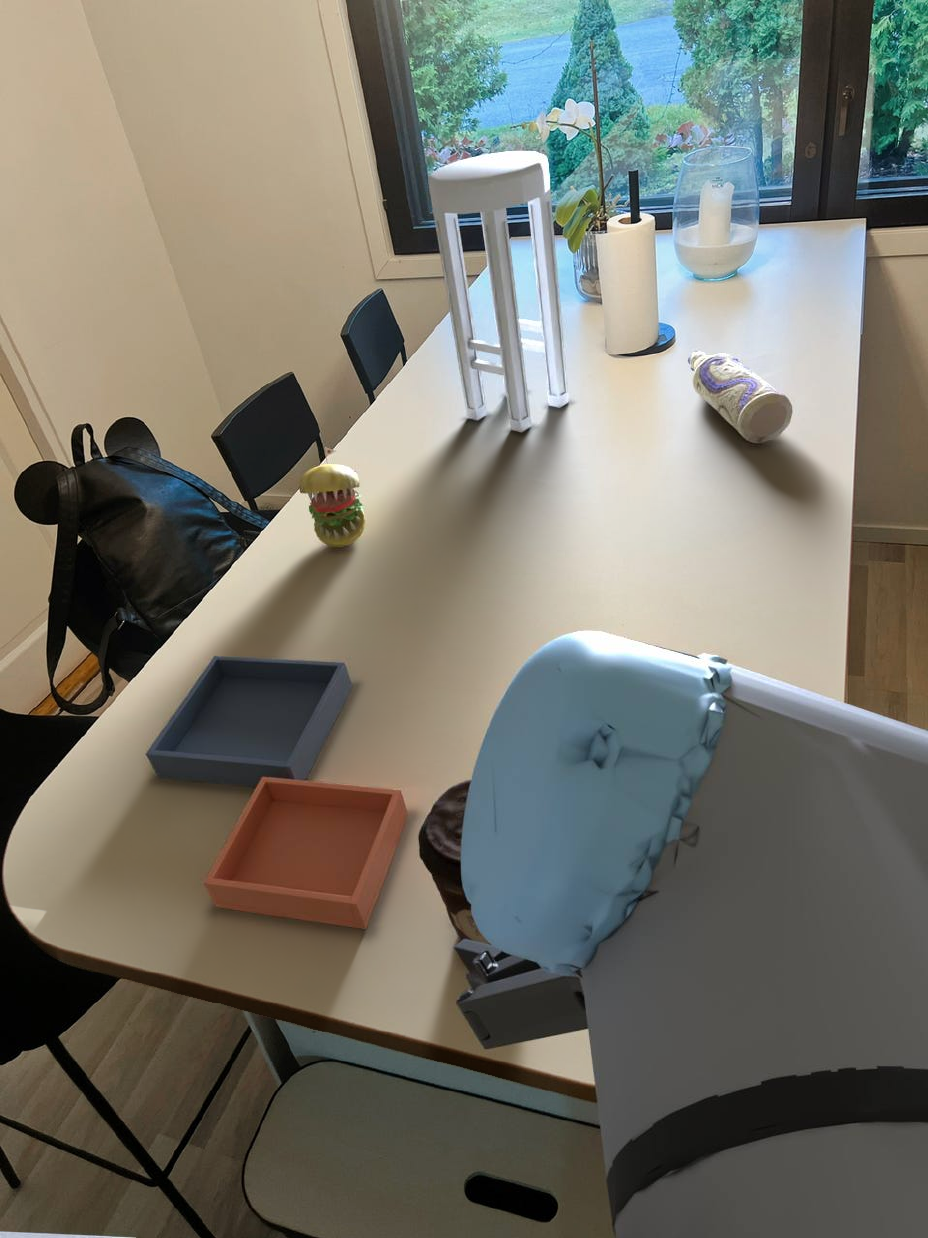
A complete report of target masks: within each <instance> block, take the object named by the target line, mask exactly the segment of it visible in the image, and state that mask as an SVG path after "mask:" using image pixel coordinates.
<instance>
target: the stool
mask: <svg viewBox="0 0 928 1238" xmlns="http://www.w3.org/2000/svg"><path fill="white" fill-rule="evenodd" d="M547 157H548V156H546V155H545V154H542V153H539V152H537V151H535V150H515V151H514V150H511V151H510V150H509V151H503V152H494V153H486V154H481V155H477V156H473V157H468V158H463V159H460V160H457V161H454V162H451V163H448V164H445V165H443V166H440V167H438V168H437V169H435V170H434V171H433V172H431V174H430V175H429V176H428V178H427V183H428V189H429V196H430V201H431V207H432V213H433V220H434V225H435V231H436V237H437V238H436V239H437V243H438V249H439V256H440V261H441V262H440V263H441V267H442V273H443V280H444V285H445V286H444V287H445V292H446V298H447V304H448V309H449V315H450V321H451V322H450V323H451V327H452V333H453V338H454V345H455V352H456V358H457V364H458V369H459V376H460V381H461V382H460V383H461V387H462V388H461V389H462V393H463V399H464V406H465V412H466V418H467V419H470V420H474V421H479V420H481V419H483V418H485V417H486V416H488V409H487V402H486V397H485V391H484V390H485V389H484V384H483V377H482V372H486V373H490V374H495V375H499V376H502V381H503V387H504V395H505V396H506V405H507V412H508V418H509V425H510V430H511V431H515V432H519V433H523V432H525V431H526V430H528V429H530V428H531V427H532V426H533V425H532V415H531V407H530V401H529V391H528V383H527V374H526V367H525V365H526V364H525V360H524V359H525V358H524V357H525V356H524V350H525V351H530V352H536V353H540V354H542V355H543V363H544V373H545V382H546V391H547V402H548V406H550V407H554V408H558V409H560V408H563V406H565V405H566V404H568V403H569V402H570V396H569V386H568V375H567V364H566V354H565V353H566V352H565V341H564V328H563V318H562V307H561V296H560V286H559V283H560V282H559V274H558V263H557V252H556V251H557V249H556V238H555V227H554V218H553V217H554V216H553V205H552V194H551V183H550V172H549V170H550V169H549V161H548V160H549V159H548V158H547ZM524 204H527V208H528V218H529V228H530V238H531V245H532V246H531V247H532V257H533V265H534V266H533V267H534V275H535V277H534V278H535V285H536V294H537V303H538V314H539V321H533V320H529V319H521V318H520V316H519V315H520V314H519V308H518V307H519V306H518V299H517V290H516V283H515V282H516V281H515V274H514V273H515V272H514V267H513V258H512V248H511V240H510V232H509V224H508V217H507V216H508V215H507V208H511V207H516V206H519V205H524ZM477 213H480V217H481V218H480V219H481V226H482V233H483V241H484V242H483V243H484V247H485V255H486V256H485V257H486V261H487V262H486V263H487V270H488V278H489V285H490V293H491V300H492V308H493V314H494V315H493V316H494V321H495V322H494V323H495V331H496V337H497V343H496V342H492V341H491V342H490V341H485V340H480V339H477V338H476V331H475V323H474V318H473V310H472V303H471V297H470V290H469V283H468V277H467V271H466V264H465V257H464V251H463V245H462V237H461V231H460V223H459V218H458V215H468V214H477ZM521 331H528V332H532V333H538V334H540V335H541V341H536V340H532V339H531V340H530V339H524V338H522V333H521ZM479 352H483V353H488V354H492V355H497V356H499V359H500V363H497V362H491V361H487V360H483V359H480V357H479V356H480V355H479Z"/></svg>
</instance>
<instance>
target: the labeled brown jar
mask: <svg viewBox="0 0 928 1238" xmlns="http://www.w3.org/2000/svg"><path fill="white" fill-rule="evenodd" d="M471 779H472V778H471ZM471 779H466V780H463V781H461V782H459V783H457V784H455V785H452V786H450V787H449V788H447V790H445V792H443V793H442V794H441V795H440V796H439V797H438V799H437V800H436V801H435V802H434V803H433V804H432V806H431V809H430V811H429V812H428V814H427V815H426V816H425V818H424V821H423V822H422V824H421V825H420V829H419V832H418V836H417V841H418V856H419V858H420V860H421V861H422V863H423V865H424V867H425V868H426V870H427V872H429V874H430V875H431V877H432V881H433V883H434V884H435V886H436V889H437V891H438V893H439V896H440V897H441V900H442V902H443V904H444V906H445V909H446V914H447V915H448V918H449V921H450V923H451V925H452V926H453V928H454V931H455V932H456V934H457V936H458V937H459V940H460V942H461V941H462V940H463V939H468V940H472V941H476V942H481V943H485V944H489V945H491V944H490V943H489V942H488V941H487V940H486V939H485V938H484V937H483V935H482V934H481V933H480V932H479V930H478V928H477V926H476V924H475V922H474V919H473V917H472V913H471V904H470V903H469V902H468V900H467V898H466V895H465V892H464V889H463V885H462V877H461V840H462V830H463V821H464V814H465V807H466V802H467V797H468V792H469V787H470V783H471ZM509 955H510V956H512V955H511V954H509Z"/></svg>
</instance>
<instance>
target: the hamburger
mask: <svg viewBox="0 0 928 1238" xmlns="http://www.w3.org/2000/svg"><path fill="white" fill-rule="evenodd" d="M323 450H324V455H325V461H326V462H328V456H330V455H332V454H334V453H335V452H336V450H335V449H332V448H329V447H326V446H323ZM360 484H361V482H360V478H359V476H358V474H357V472H356V470H353V469H351V468H350V467H349V466H345V465H342V464H336V463H326V464H322V465H318V466H315V467H313V468H310V469H309V470H307V471H306V472H305V473H304V474H303V475H302V476H301V478H300V480H299V483H298V490H299V492H300V494H303V495H304V494H305V495H308V497H309V500H310V502H309V506H308V512H309V513H310V515H311V519H313V520H314V523H313V528H314V530H313V531H314V532H315V534H316V537H317V538H318V540H320V542H321V543H323V544H325V545H326V546H329V547H333V548H342V547H347V546H349V545H351V544H353V543H354V542H356V541H357V540H358V539H359V538H361V536H362V534H363V532H364V530H365V528H366V515H365V513H364V510H363V506H364V505H363V503H362V502H361V501H360V498H361V497H362V496H361V494H360V493H358V491H357V490H355V489H357V488H360Z"/></svg>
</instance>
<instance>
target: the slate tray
mask: <svg viewBox="0 0 928 1238" xmlns="http://www.w3.org/2000/svg"><path fill="white" fill-rule="evenodd" d="M352 689H353V683H352V680H351V677H350V673H349V670H348V667H347V663H346V662H342V661H325V660H324V661H322V660H306V659H305V660H304V659H286V658H285V659H282V658H265V657H244V656H224V655H214V656H212V658H211V660H210V661H209V662H208V664H207V665H206V667H205V669H203V672H202V673H201V674H200V676H199V677H198V679H196V681H195V683H194V684H193V686H192V687H191V688H190V689H189V691H188V692H187V694H186V696H185V697H184V698H183V699H182V700H181V702H180V704H179V706H177V709H175V711H174V713H173V714H172V715H171V717H170V719H169V720H168V721H167V723H166V724H165V726H163V728H162V730H160V732H159V734H158V736H157V737H156V738H155V740H154V741H153V742H152V744H151V746H150V747H149V748H148V749H147V751H146V752H145V757H146V758H147V760H148V762H149V764H150V765H151V767H152V769H153V771H154V772H155V775H156V777H157V778H159V779H170V780H178V781H179V780H180V781H189V782H200V783H209V784H219V785H231V786H239V787H251V788H256V787H257V785H258V783H259V782H260V780H261V778H262V777H271V778H281V779H291V780H302V781H307V778H308V777H309V774H310V773H311V770H312V768H313V767H314V764H315V763H316V761H317V759H318V756H319V755H320V752H321V750H322V748H323V747H324V744H325V742H326V741H327V738H328V737H329V735H330V733H331V731H332V729H333V727H334V725H335V722H336V721H337V718H338V717H339V714H340V713H341V710H342V708H343V707H344V705H345V703H346V700H347V699H348V697H349V694H350V693H351V691H352Z"/></svg>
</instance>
